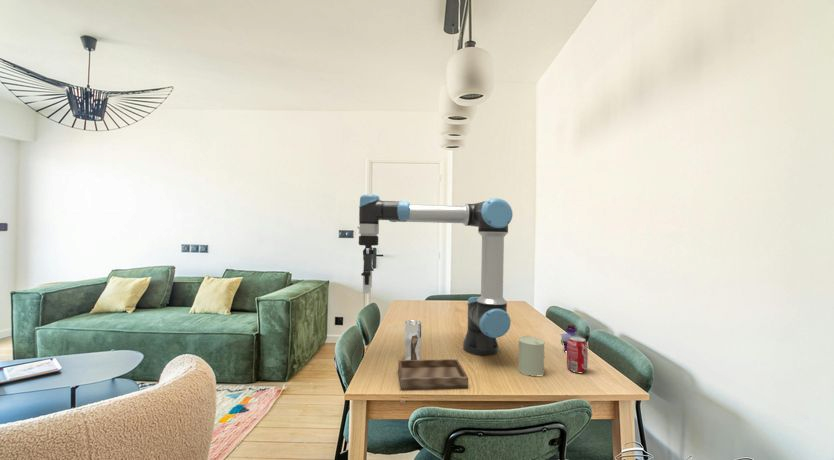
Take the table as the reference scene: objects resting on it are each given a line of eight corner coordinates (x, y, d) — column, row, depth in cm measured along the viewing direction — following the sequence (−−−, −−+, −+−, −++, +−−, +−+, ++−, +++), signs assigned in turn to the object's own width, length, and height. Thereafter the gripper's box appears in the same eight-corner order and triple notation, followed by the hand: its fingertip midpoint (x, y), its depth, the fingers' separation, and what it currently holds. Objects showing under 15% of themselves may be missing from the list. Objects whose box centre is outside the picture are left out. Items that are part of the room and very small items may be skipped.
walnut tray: (457, 368, 125) (457, 359, 125) (467, 388, 109) (468, 377, 109) (398, 369, 122) (398, 360, 122) (400, 390, 106) (400, 379, 107)
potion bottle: (556, 348, 149) (557, 321, 149) (575, 348, 150) (576, 322, 150) (566, 355, 141) (566, 327, 141) (586, 355, 141) (586, 327, 141)
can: (531, 378, 117) (531, 344, 117) (512, 369, 125) (513, 337, 126) (549, 374, 121) (550, 341, 122) (530, 365, 130) (531, 334, 130)
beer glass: (419, 364, 128) (420, 325, 128) (401, 362, 129) (402, 323, 129) (422, 357, 135) (423, 320, 135) (405, 356, 136) (406, 319, 136)
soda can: (585, 368, 127) (586, 337, 128) (588, 375, 121) (589, 342, 121) (565, 365, 130) (566, 334, 130) (567, 372, 123) (568, 340, 123)
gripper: (360, 234, 140) (359, 285, 140) (356, 235, 116) (354, 296, 115) (378, 235, 141) (377, 285, 141) (378, 235, 116) (376, 296, 116)
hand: (367, 290), depth 128 cm, fingers open, 13 cm apart
